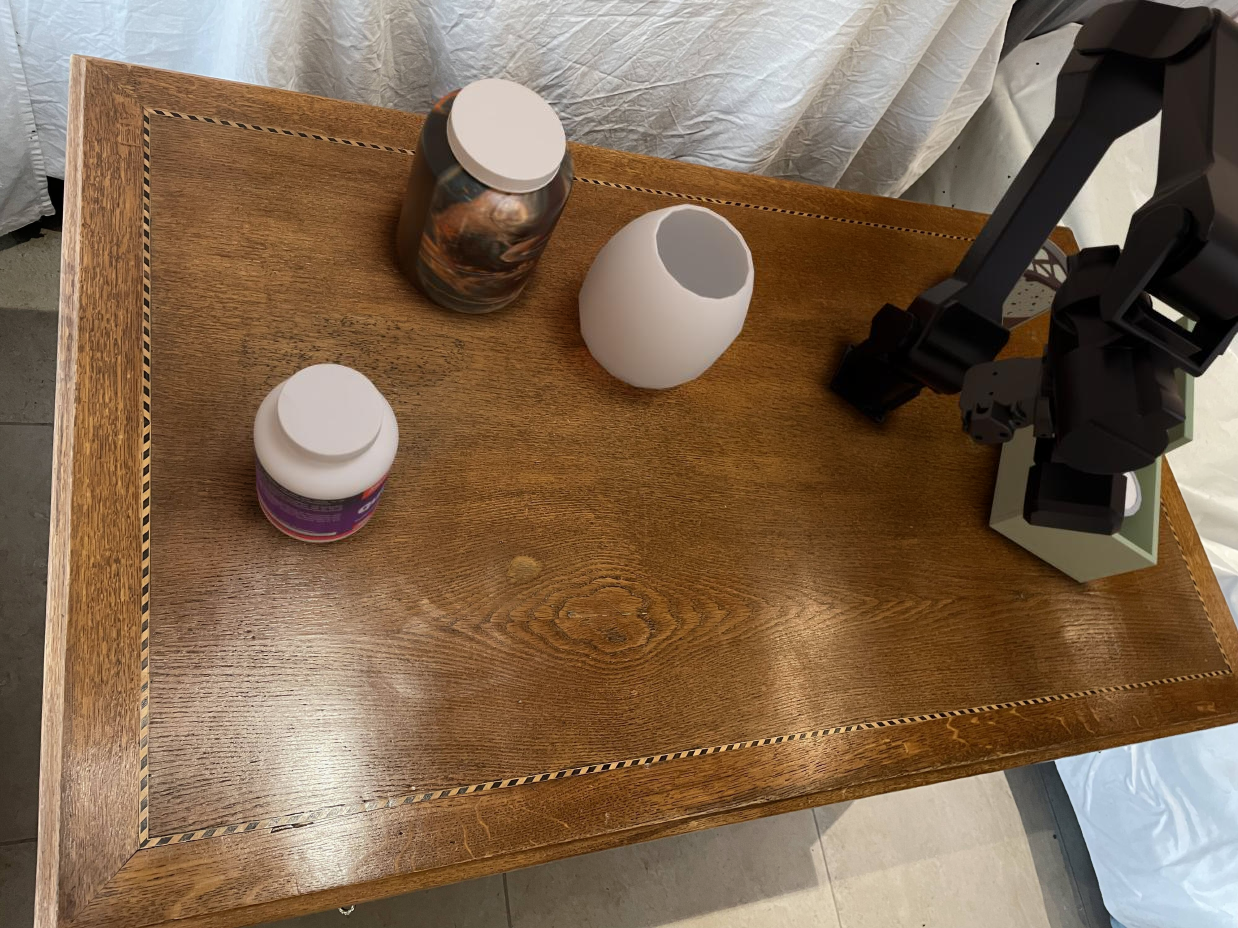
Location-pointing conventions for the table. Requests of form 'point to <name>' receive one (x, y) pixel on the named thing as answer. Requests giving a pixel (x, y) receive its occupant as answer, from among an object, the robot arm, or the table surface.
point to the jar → (483, 195)
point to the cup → (666, 296)
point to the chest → (1075, 549)
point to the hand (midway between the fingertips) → (1073, 482)
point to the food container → (1036, 287)
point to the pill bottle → (323, 452)
